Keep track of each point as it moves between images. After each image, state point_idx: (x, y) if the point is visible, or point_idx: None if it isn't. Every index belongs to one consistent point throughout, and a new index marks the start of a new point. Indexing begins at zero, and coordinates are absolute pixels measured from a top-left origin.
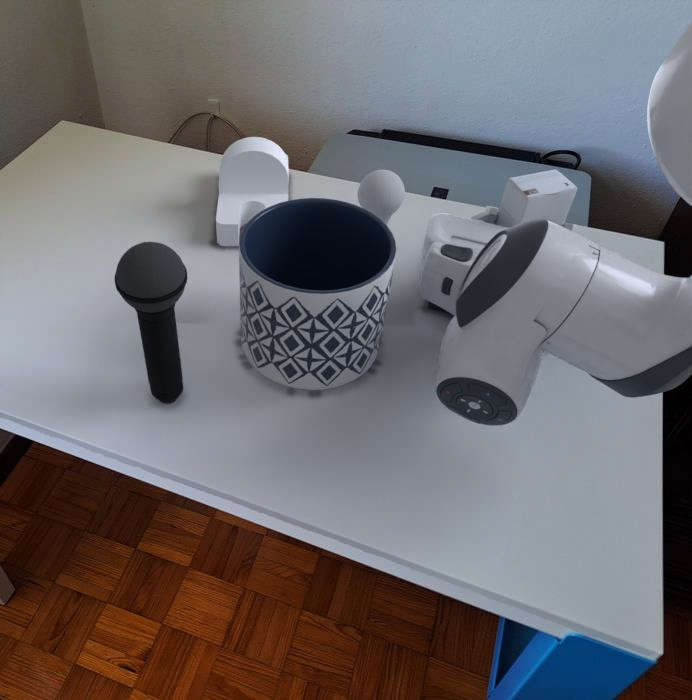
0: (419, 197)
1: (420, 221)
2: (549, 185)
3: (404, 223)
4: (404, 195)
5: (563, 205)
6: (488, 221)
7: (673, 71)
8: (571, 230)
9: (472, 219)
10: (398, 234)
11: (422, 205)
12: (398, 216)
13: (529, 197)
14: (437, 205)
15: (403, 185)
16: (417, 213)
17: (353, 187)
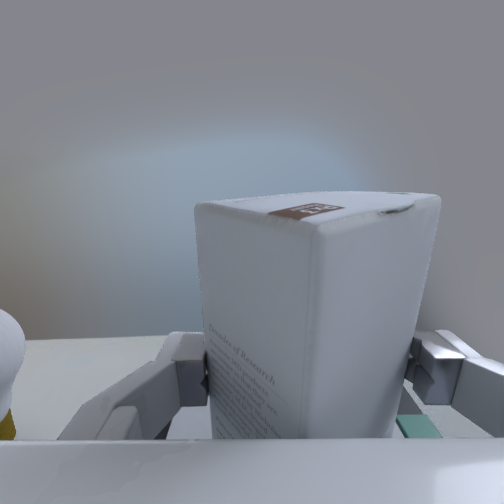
0: (130, 338)
1: (119, 379)
2: (354, 197)
3: (86, 392)
4: (13, 349)
5: (419, 268)
6: (182, 388)
7: None
8: (462, 353)
9: (79, 420)
10: (60, 424)
11: (131, 349)
12: (81, 379)
13: (321, 224)
14: (154, 343)
15: (4, 327)
16: (118, 365)
17: (29, 346)
